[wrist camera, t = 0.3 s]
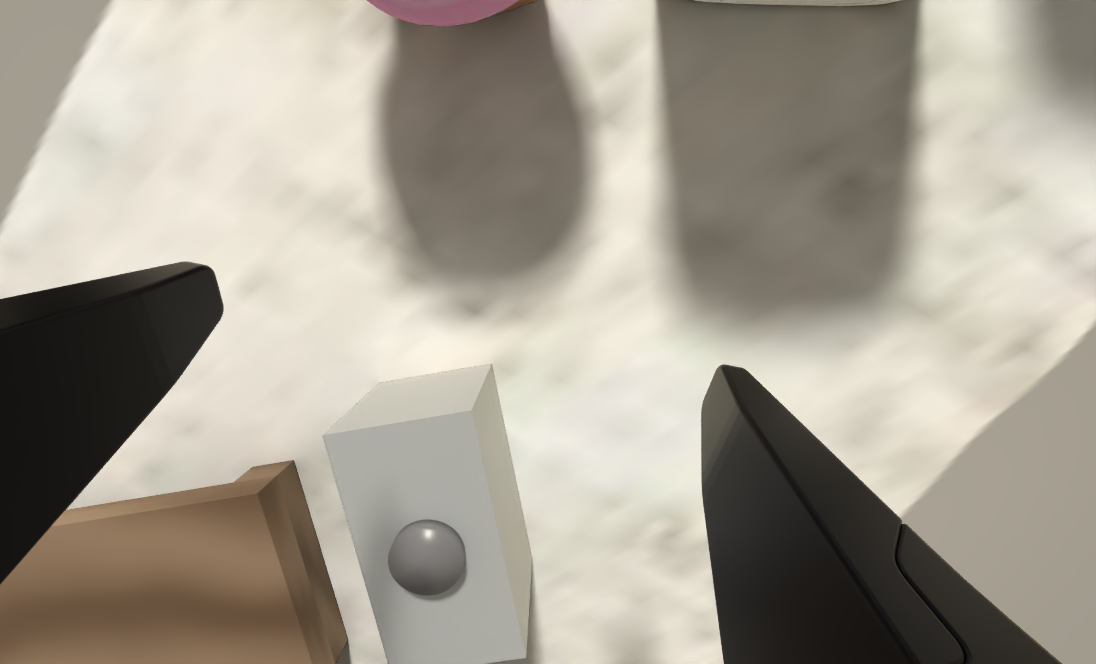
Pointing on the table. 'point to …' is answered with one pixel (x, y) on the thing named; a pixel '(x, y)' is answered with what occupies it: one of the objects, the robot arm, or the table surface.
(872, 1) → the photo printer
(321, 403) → the table surface
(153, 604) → the walnut stand
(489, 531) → the block
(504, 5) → the cupcake
